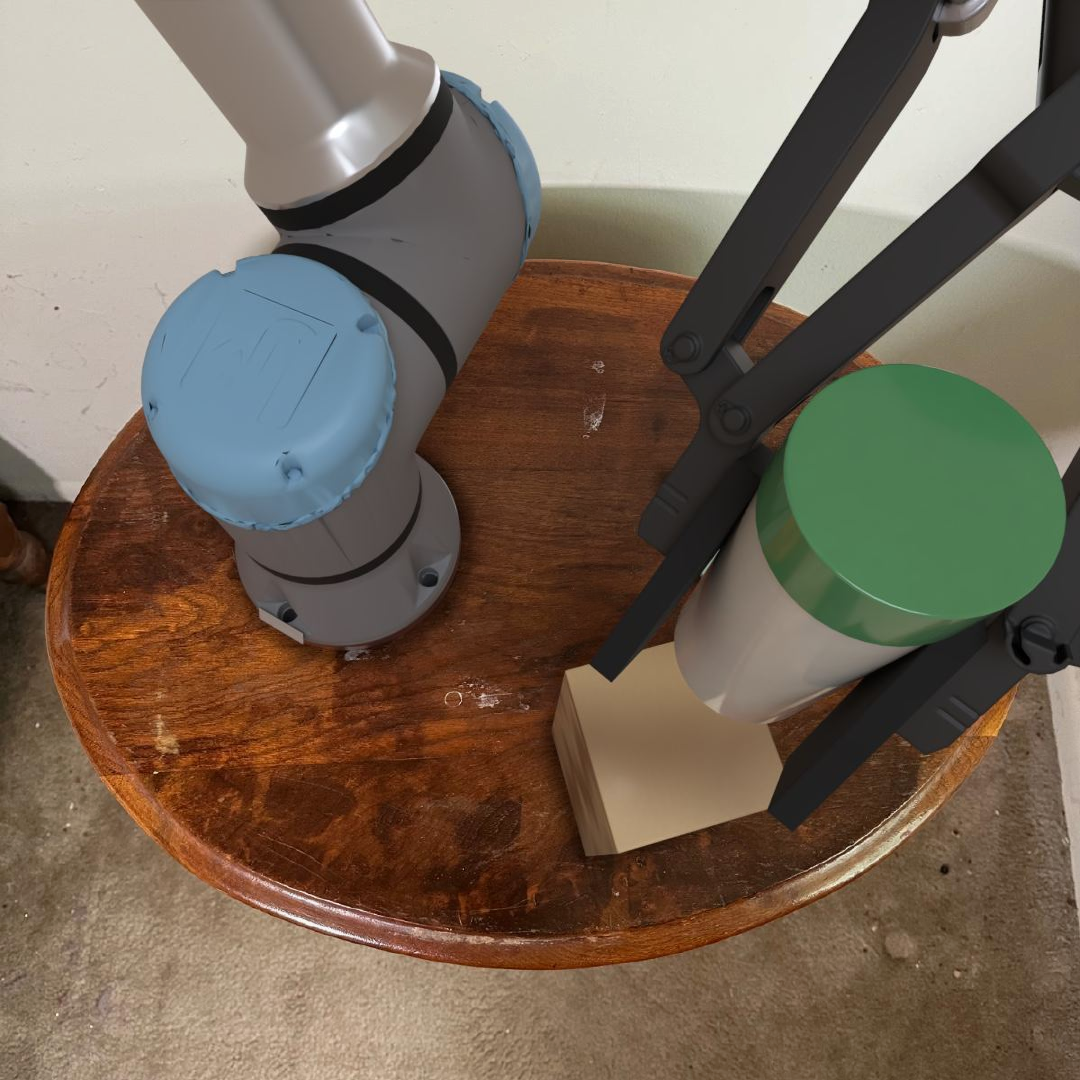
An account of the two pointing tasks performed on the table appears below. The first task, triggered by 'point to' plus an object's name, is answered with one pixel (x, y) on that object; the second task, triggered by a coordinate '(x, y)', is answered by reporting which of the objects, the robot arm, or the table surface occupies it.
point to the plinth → (655, 756)
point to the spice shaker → (871, 540)
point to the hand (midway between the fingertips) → (703, 720)
